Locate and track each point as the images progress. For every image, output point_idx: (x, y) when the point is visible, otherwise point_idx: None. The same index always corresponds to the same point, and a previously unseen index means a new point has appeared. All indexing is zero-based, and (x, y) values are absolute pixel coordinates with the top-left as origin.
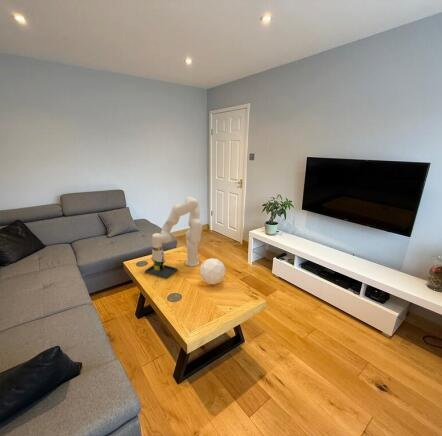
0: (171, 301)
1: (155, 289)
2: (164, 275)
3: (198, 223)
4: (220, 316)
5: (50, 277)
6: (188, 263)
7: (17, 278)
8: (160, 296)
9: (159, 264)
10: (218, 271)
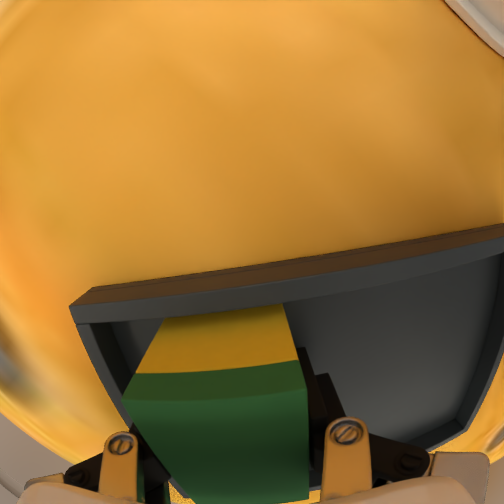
0: (500, 442)
1: None
2: (430, 413)
3: None
4: None
5: (22, 492)
6: (498, 27)
7: (10, 489)
8: None
9: (308, 478)
10: None
